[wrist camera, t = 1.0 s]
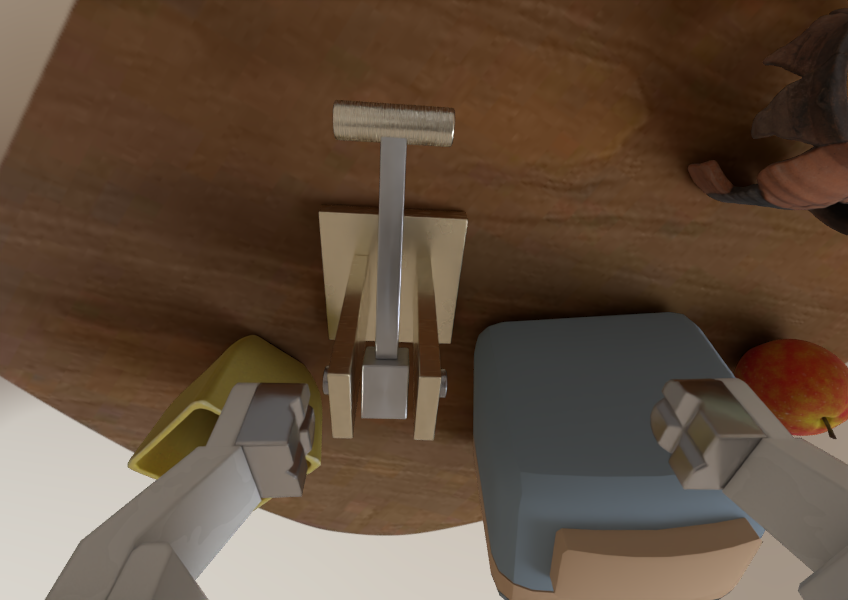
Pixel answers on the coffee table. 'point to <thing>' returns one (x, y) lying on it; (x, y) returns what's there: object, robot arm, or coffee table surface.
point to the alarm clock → (597, 464)
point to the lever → (390, 234)
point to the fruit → (798, 384)
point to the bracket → (419, 303)
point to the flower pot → (221, 405)
